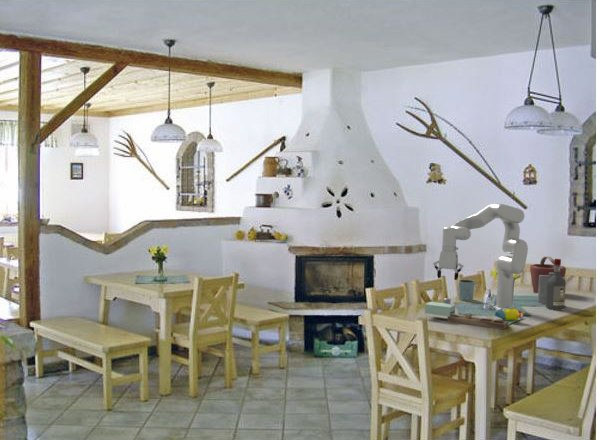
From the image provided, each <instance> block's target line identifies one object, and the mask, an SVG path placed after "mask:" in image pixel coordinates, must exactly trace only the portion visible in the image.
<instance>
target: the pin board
mask: <svg viewBox="0 0 597 440" xmlns="http://www.w3.org/2000/svg"><path fill="white" fill-rule="evenodd" d="M447 322H448V323H457V324H463V325H468V326H469V325H471V326H477V327H485V328H492V329H500V330H505V329H507V328H508V327H509V325H510V324H509V321H505V320H499V319H493V318H492V319H491V318H485V317H476V316H472V314H471V313H466V314H465V315H464V314H457V313H455V314H450V317H449V316H447ZM508 324H509V325H508Z"/></svg>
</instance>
